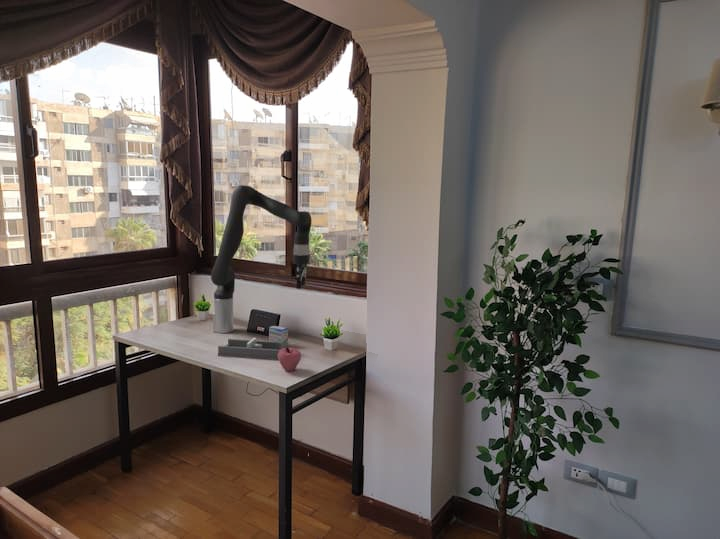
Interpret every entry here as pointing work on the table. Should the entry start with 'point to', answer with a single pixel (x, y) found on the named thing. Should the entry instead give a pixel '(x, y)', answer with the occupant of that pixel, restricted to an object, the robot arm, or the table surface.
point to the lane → (252, 349)
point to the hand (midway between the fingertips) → (300, 286)
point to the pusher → (253, 344)
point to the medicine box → (277, 333)
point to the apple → (289, 358)
